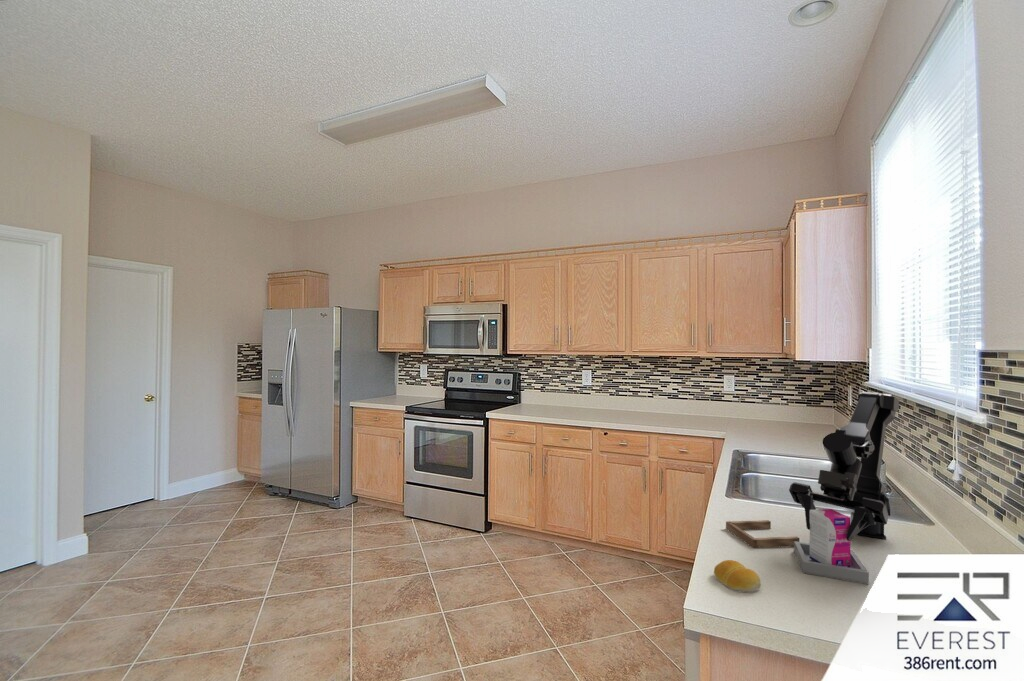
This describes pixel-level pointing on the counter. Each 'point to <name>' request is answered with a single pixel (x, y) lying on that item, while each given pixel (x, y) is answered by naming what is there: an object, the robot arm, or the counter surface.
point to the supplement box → (829, 537)
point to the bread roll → (737, 576)
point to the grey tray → (830, 566)
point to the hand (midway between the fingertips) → (827, 534)
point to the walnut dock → (738, 528)
